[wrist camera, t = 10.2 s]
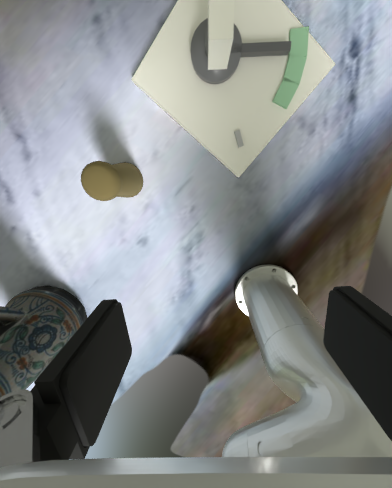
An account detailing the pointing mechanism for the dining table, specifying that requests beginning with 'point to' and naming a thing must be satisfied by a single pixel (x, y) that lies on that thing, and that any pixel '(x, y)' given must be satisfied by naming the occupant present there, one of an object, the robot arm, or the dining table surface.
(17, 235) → the dining table surface
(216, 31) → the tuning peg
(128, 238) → the dining table surface
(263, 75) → the dial board
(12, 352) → the beer stein
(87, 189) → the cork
